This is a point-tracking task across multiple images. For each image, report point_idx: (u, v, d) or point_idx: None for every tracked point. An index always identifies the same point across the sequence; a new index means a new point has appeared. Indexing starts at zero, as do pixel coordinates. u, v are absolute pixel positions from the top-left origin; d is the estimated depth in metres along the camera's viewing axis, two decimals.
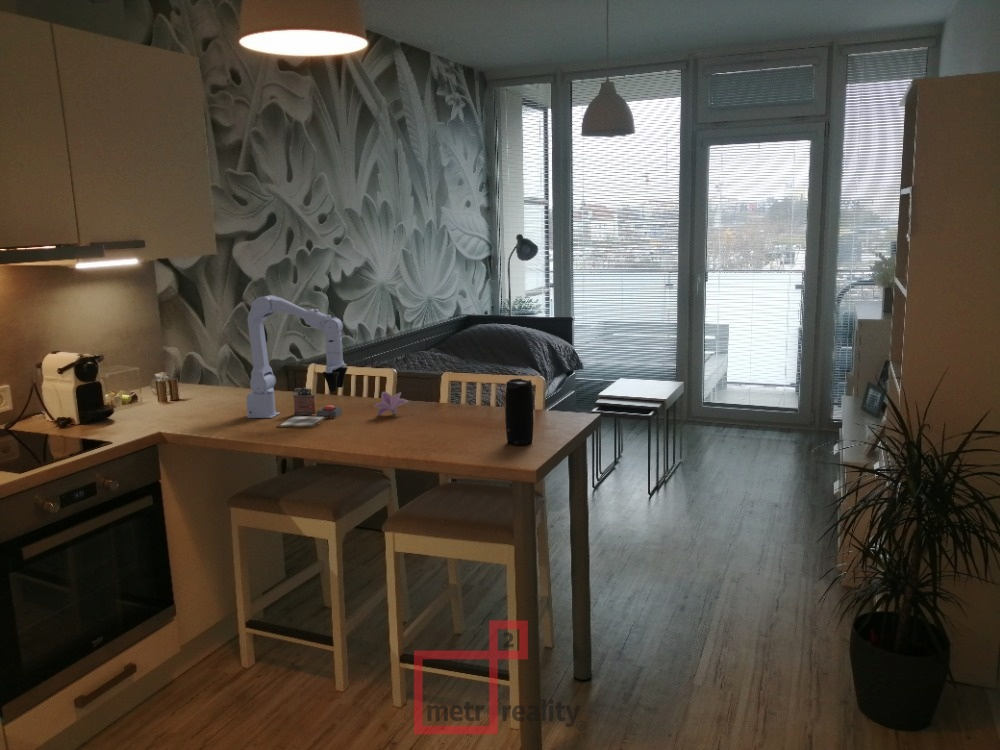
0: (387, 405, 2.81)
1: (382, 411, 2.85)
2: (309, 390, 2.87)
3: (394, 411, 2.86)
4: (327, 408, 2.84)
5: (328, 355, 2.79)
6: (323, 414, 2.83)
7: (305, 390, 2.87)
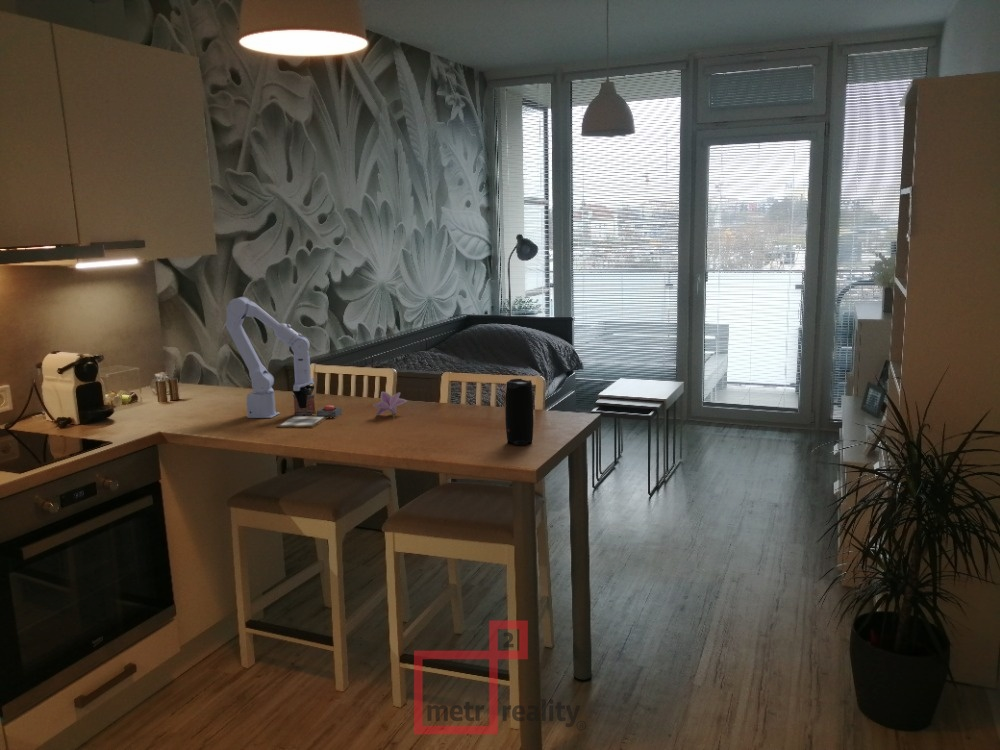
0: (386, 405, 2.81)
1: (381, 411, 2.85)
2: (309, 390, 2.87)
3: (393, 411, 2.87)
4: (327, 408, 2.84)
5: (296, 373, 2.85)
6: (323, 414, 2.83)
7: None
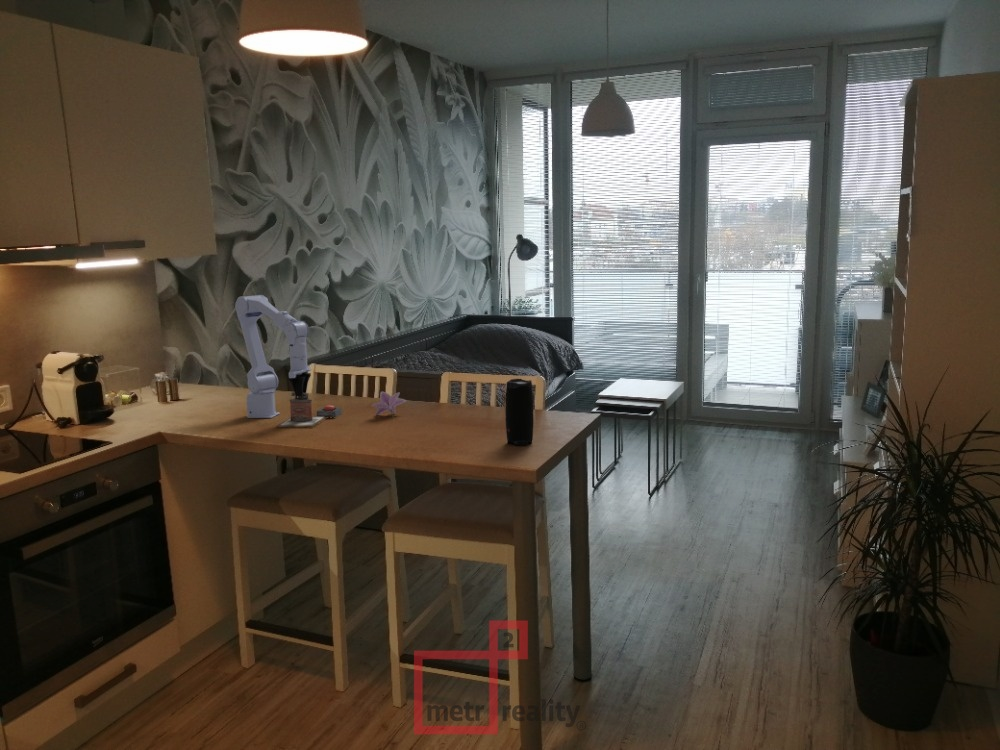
0: (386, 405, 2.82)
1: (380, 411, 2.85)
2: (306, 394, 2.74)
3: (392, 411, 2.87)
4: (327, 408, 2.84)
5: (292, 360, 2.70)
6: (323, 414, 2.83)
7: None
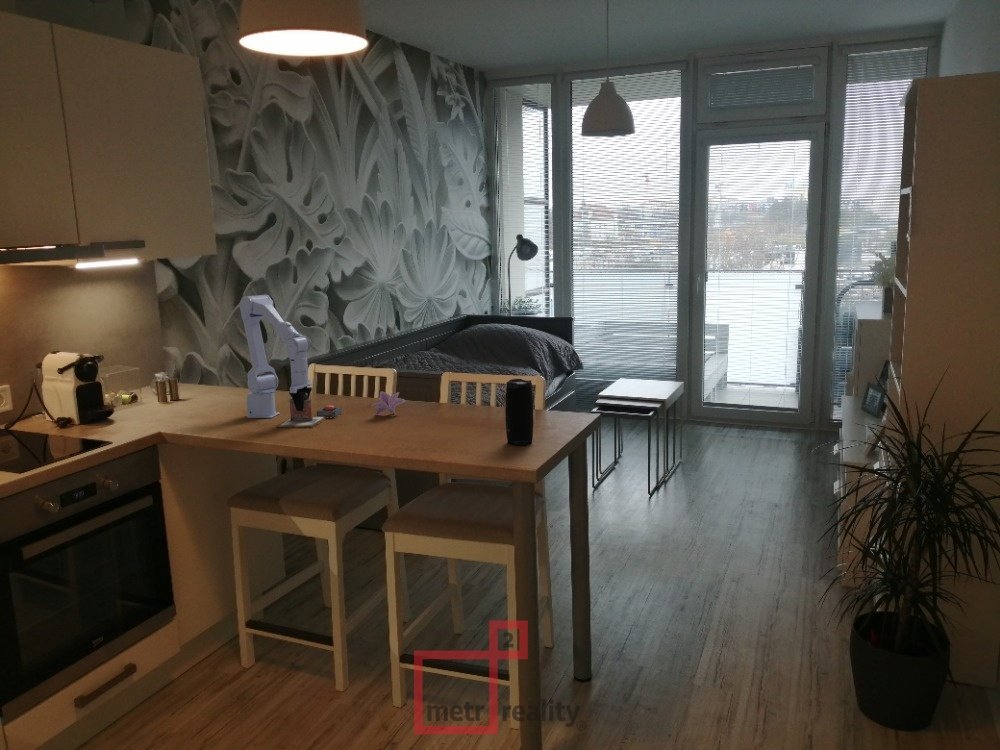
0: (385, 405, 2.82)
1: (380, 411, 2.85)
2: (305, 395, 2.74)
3: (392, 411, 2.87)
4: (327, 408, 2.84)
5: (293, 375, 2.71)
6: (323, 414, 2.83)
7: None
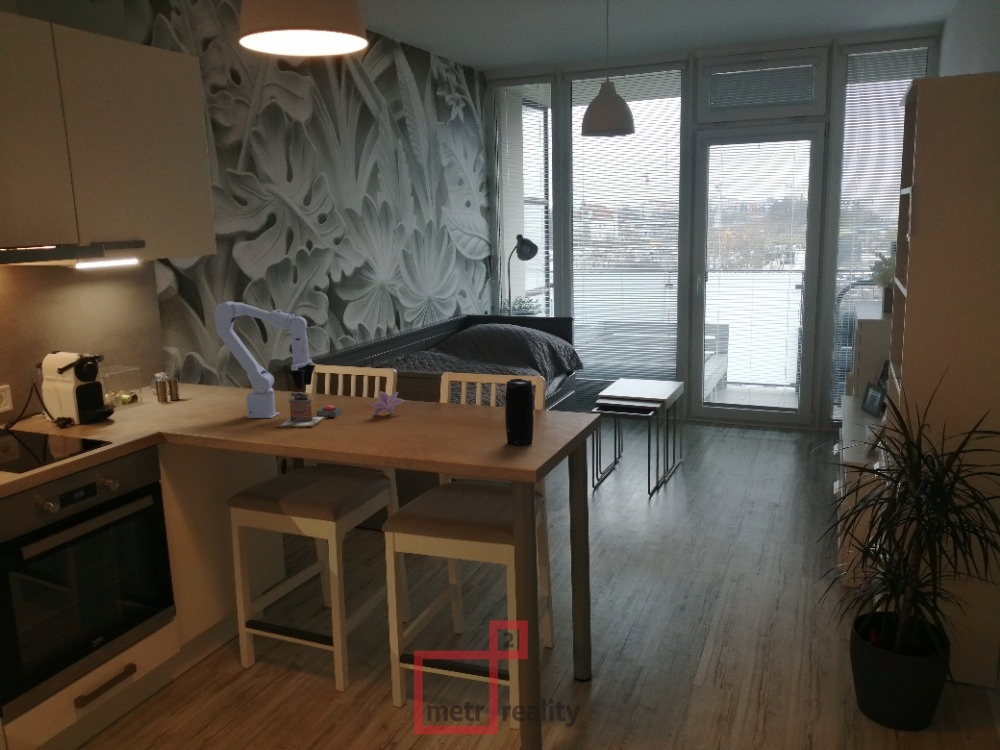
0: (384, 405, 2.82)
1: (379, 411, 2.85)
2: (305, 395, 2.74)
3: (390, 411, 2.87)
4: (327, 408, 2.84)
5: (294, 353, 2.83)
6: (323, 414, 2.83)
7: (301, 395, 2.74)
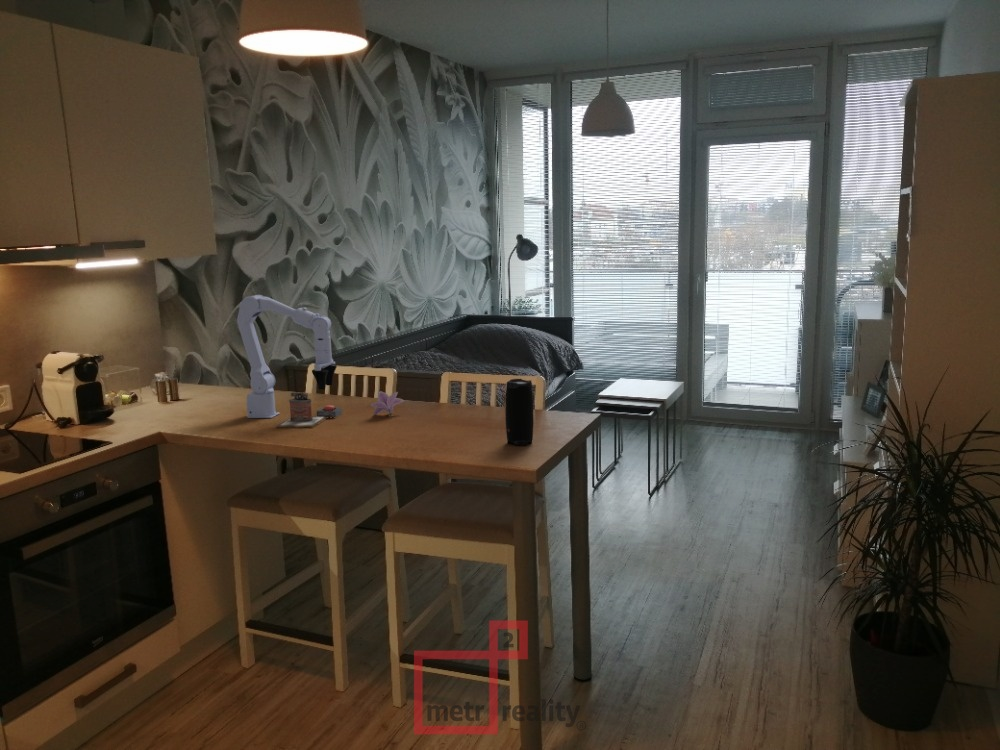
0: (384, 405, 2.82)
1: (378, 411, 2.86)
2: (305, 395, 2.74)
3: (390, 411, 2.87)
4: (327, 408, 2.84)
5: (317, 353, 2.81)
6: (323, 414, 2.83)
7: (301, 395, 2.74)
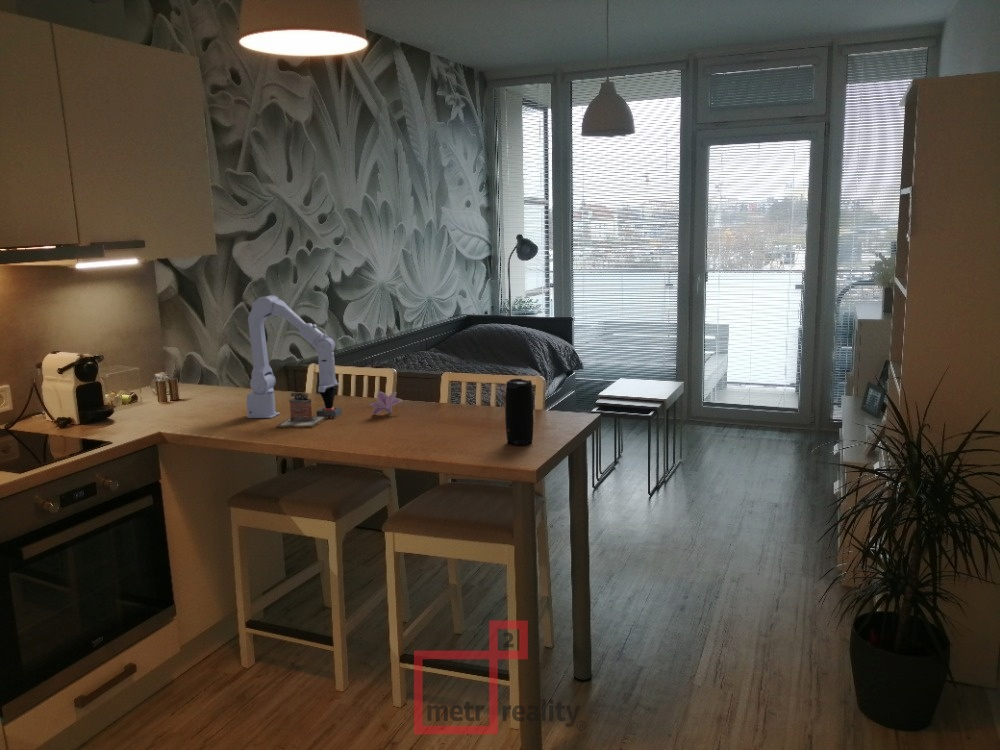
0: (383, 405, 2.82)
1: (377, 411, 2.86)
2: (305, 395, 2.74)
3: (389, 410, 2.87)
4: None
5: (321, 374, 2.81)
6: (323, 414, 2.83)
7: (301, 395, 2.74)
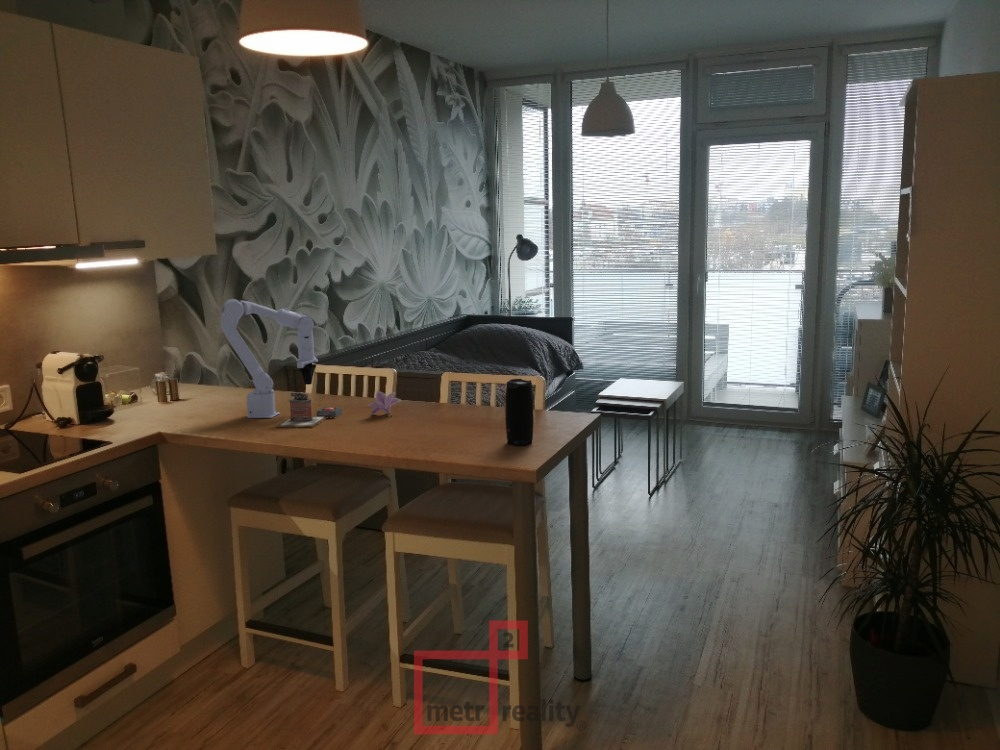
0: (381, 404, 2.82)
1: (376, 411, 2.86)
2: (305, 395, 2.74)
3: (387, 410, 2.88)
4: None
5: (300, 351, 2.88)
6: (323, 414, 2.83)
7: (301, 395, 2.74)
